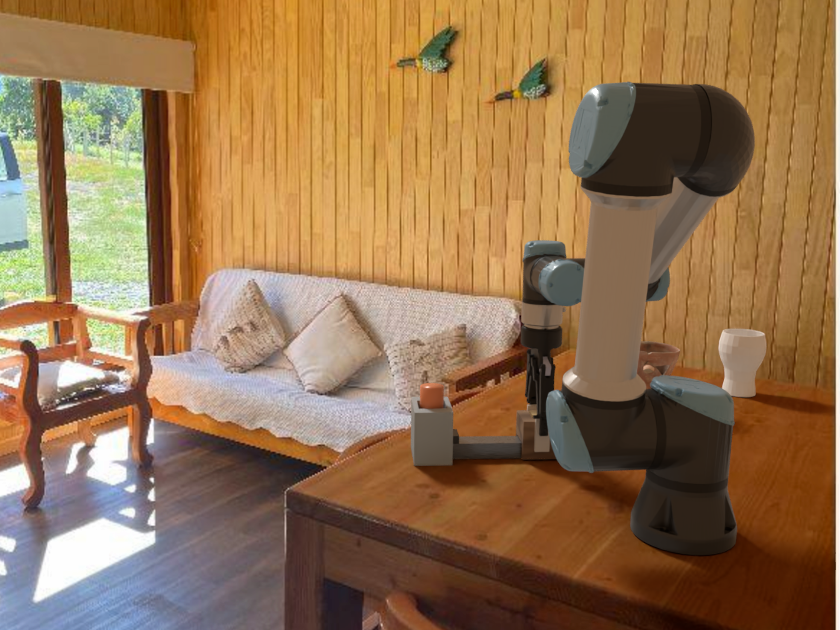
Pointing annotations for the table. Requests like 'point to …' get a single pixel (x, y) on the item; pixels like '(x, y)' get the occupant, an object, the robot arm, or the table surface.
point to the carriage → (529, 436)
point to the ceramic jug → (656, 360)
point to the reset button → (431, 396)
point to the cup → (741, 359)
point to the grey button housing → (431, 434)
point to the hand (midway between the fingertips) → (537, 443)
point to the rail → (486, 447)
